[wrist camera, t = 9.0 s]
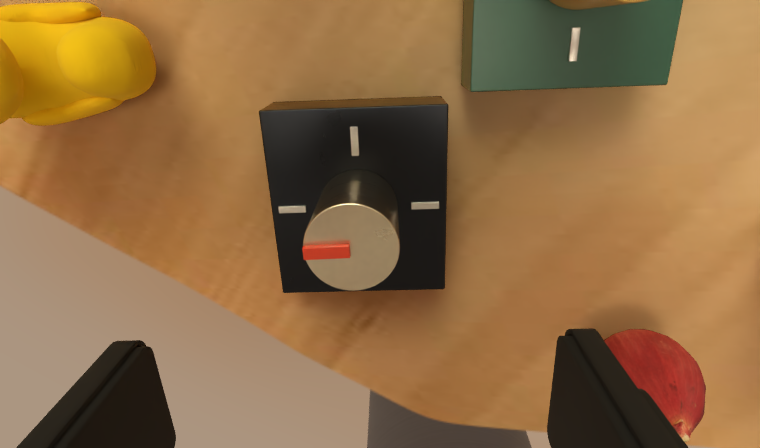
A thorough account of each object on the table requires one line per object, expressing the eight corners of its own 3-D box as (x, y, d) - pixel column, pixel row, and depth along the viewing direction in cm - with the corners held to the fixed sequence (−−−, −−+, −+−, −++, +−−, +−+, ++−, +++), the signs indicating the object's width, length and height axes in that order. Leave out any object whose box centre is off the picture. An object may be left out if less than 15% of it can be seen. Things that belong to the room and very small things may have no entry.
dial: (395, 167, 23) (397, 203, 18) (399, 240, 24) (402, 292, 19) (315, 171, 23) (295, 208, 18) (323, 244, 25) (307, 296, 20)
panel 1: (439, 264, 28) (445, 291, 25) (293, 268, 29) (282, 294, 26) (441, 96, 24) (448, 104, 22) (272, 101, 25) (257, 111, 22)
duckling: (-9, 123, 25) (-236, 174, 16) (-51, 17, 23) (-338, 6, 14) (192, 107, 25) (77, 150, 16) (167, -4, 23) (17, -28, 14)
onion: (679, 321, 30) (776, 417, 22) (628, 387, 32) (702, 495, 24) (600, 291, 29) (673, 380, 21) (553, 361, 31) (605, 464, 23)
